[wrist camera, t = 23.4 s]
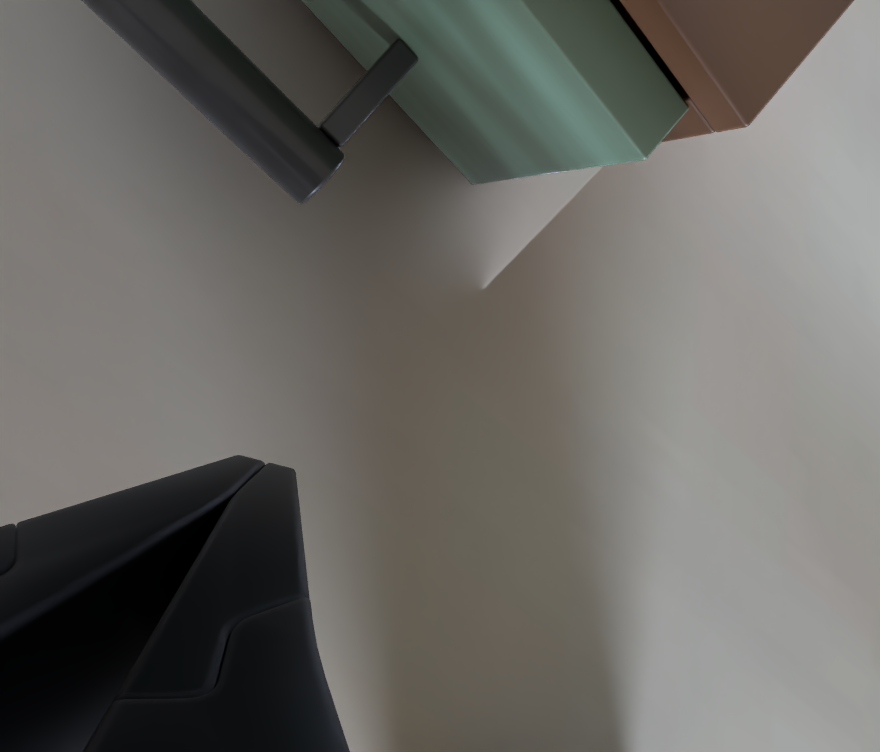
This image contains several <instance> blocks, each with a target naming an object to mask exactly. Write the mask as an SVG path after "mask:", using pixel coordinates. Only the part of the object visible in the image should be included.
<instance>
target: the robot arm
mask: <svg viewBox="0 0 880 752" xmlns="http://www.w3.org/2000/svg"><path fill="white" fill-rule="evenodd" d="M0 752H350V751H349V748H348V745H347V742H346V739H345V736H344V733H343V730H342V727H341V724H340V721H339V718H338V714H337V711H336V708H335V705H334V702H333V699H332V696H331V693H330V690H329V687H328V684H327V681H326V678H325V674H324V670H323V667H322V663H321V659H320V656H319V652H318V648H317V643H316V637H315V631H314V625H313V620H312V611H311V602H310V600H309V590H308V581H307V571H306V562H305V553H304V544H303V534H302V525H301V516H300V507H299V498H298V488H297V479H296V472H295V470H294V469H292V468H289V467H285V466H281V465H277V464H273V463H268V464H266V465H265V463H264V462H263V461H261V460H257V459H253V458H249V457H245V456H241V455H237V456H233V457H229V458H226V459H223V460H220V461H217V462H213V463H210V464H207V465H204V466H200V467H197V468H194V469H191V470H187V471H184V472H181V473H178V474H174V475H171V476H168V477H165V478H161V479H158V480H155V481H152V482H148V483H145V484H142V485H139V486H135V487H132V488H129V489H126V490H122V491H119V492H116V493H113V494H109V495H106V496H103V497H100V498H96V499H93V500H90V501H87V502H83V503H80V504H77V505H74V506H70V507H67V508H64V509H61V510H57V511H54V512H51V513H48V514H44V515H41V516H38V517H35V518H31V519H28V520H25V521H22V522H19V523H18V524H17V525H16V526H15V525H14V524H8V525H5V526H2V527H0Z"/></svg>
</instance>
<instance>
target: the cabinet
mask: <svg viewBox="0 0 880 752" xmlns="http://www.w3.org/2000/svg"><path fill="white" fill-rule="evenodd" d="M853 1H854V0H620V2H621V3H622V4H623V6H624V7H625V9H626V10H627V11H628V13H629V14H630V15H631V17H632V18H633V20H634V21H635V22H636V24H637V25H638V27H639V28H640V29H641V31H642V32H643V33H644V35H645V36H646V38H647V39H648V40H649V42H650V43H649V44H647V45H644V47H645V49H646V50H647V51H648V53H649V54H650V55H651V57H652V58H653V59H654V61H655V62H656V64H657V65H658V66H659V68H660V69H661V70H662V72H663V73H664V74H665V76H666V77H667V79H668V80H669V81H670V83H671V84H672V85H673V87H674V88H675V89H676V91H677V92H678V94H679V95H680V96H681V98H682V99H683V100H684V102H685V103H686V105H687V106H688V108H689V109H688V111H687V112H686V113H685V114H684V115H683V116H682V118H681V119H680V120H679V121H678V122H677V124H676V125H675V126H674V127H673V128H672V129H671V131H670V132H669V133H668V134H667V135H666V136H665V138H664V139H663V140H662V141H661V142H665V141H670V140H676V139H682V138H687V137H693V136H699V135H704V134H710V133H713V132H715V131H716V132H721V131H726V130H732V129H738V128H743V127H747V126H749V125H750V124H751V123H752V121H753V120H754V119H755V118H756V117H757V115H758V114H759V113H760V112H761V111H762V109H763V108H764V107H765V106H766V105H767V103H768V102H769V101H770V100H771V99H772V98H773V96H774V95H775V94H776V93H777V92H778V90H779V89H780V88H781V87H782V86H783V84H784V83H785V82H786V81H787V80H788V78H789V77H790V76H791V75H792V74H793V72H794V71H795V70H796V69H797V68H798V67H799V65H800V64H801V63H802V62H803V61H804V59H805V58H806V57H807V56H808V55H809V53H810V52H811V51H812V50H813V49H814V47H815V46H816V45H817V44H818V43H819V42H820V40H821V39H822V38H823V37H824V36H825V34H826V33H827V32H828V31H829V30H830V28H831V27H832V26H833V25H834V24H835V22H836V21H837V20H838V19H839V18H840V17H841V15H842V14H843V13H844V12H845V11H846V9H847V8H848V7H849V6H850V5H851V3H852V2H853Z"/></svg>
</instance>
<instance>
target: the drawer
mask: <svg viewBox="0 0 880 752" xmlns="http://www.w3.org/2000/svg"><path fill="white" fill-rule="evenodd" d="M82 1H83V2H84V3H85V4H86V5H87V6H88V7H89V8H90V9H91V10H92V11H93V12H95V13H96V14H97V15H98V16H99V17H100V18H101V19H102V20H103V21H104V22H105V23H106V24H107V25H108V26H110V27H111V28H112V29H113V30H114V31H115V32H116V33H117V34H118V35H119V36H120V37H121V38H122V39H123V40H124V41H126V42H127V43H128V44H129V45H130V46H131V47H132V48H133V49H134V50H135V51H136V52H137V53H138V54H139V55H141V56H142V57H143V58H144V59H145V60H146V61H147V62H148V63H149V64H150V65H151V66H152V67H153V68H154V69H155V70H157V71H158V72H159V73H160V74H161V75H162V76H163V77H164V78H165V79H166V80H167V81H168V82H169V83H170V84H172V85H173V86H174V87H175V88H176V89H177V90H178V91H179V92H180V93H181V94H182V95H183V96H184V97H185V98H186V99H188V100H189V101H190V102H191V103H192V104H193V105H194V106H195V107H196V108H197V109H198V110H199V111H200V112H201V113H202V114H204V115H205V116H206V117H207V118H208V119H209V120H210V121H211V122H212V123H213V124H214V125H215V126H216V127H217V128H219V129H220V130H221V131H222V132H223V133H224V134H225V135H226V136H227V137H228V138H229V139H230V140H231V141H232V142H233V143H235V144H236V145H237V146H238V147H239V148H240V149H241V150H242V151H243V152H244V153H245V154H246V155H247V156H248V157H250V158H251V159H252V160H253V161H254V162H255V163H256V164H257V165H258V166H259V167H260V168H261V169H262V170H263V171H264V172H266V173H267V174H268V175H269V176H270V177H271V178H272V179H273V180H274V181H275V182H276V183H277V184H278V185H279V186H281V187H282V188H283V189H284V190H285V191H286V192H287V193H288V194H289V195H290V196H291V197H292V198H293V199H294V200H295V201H297V202H298V203H300V204H302V203H304V202H306V201H308V200H309V199H310V198H311V197H312V196H313V195H314V194H315V193H316V192H317V191H318V190H319V189H320V188H321V187H322V186H323V185H324V184H325V183H326V182H327V181H328V180H329V179H330V177H331V176H332V175H333V174H334V173H335V172H336V170H337V169H338V168H339V167H340V165H341V164H342V162H343V160H344V158H345V156H344V153H343V152H342V151H341V150H340V149H339V147H341V146H343V145H344V144H345V143H346V142H347V140H348V139H349V138H350V137H351V136H352V135H353V134H354V133H355V132H356V130H357V129H358V128H359V127H360V126H361V125H362V124H363V123H364V121H365V120H366V119H367V118H368V117H369V116H370V115H371V114H372V112H373V111H374V110H375V109H376V108H377V107H378V106H379V105H380V104H381V102H382V101H383V100H384V99H385V98H386V97H387V96H388V95H390V96H391V97H392V99H393V100H394V101H395V102H396V103H397V104H398V105H399V106H400V107H401V108H402V109H403V110H404V111H405V113H406V114H407V115H408V116H409V117H410V118H411V119H412V120H413V121H414V122H415V123H416V124H417V125H418V127H419V128H420V129H421V130H422V131H423V132H424V133H425V134H426V135H427V136H428V137H429V138H430V139H431V141H432V142H433V143H434V144H435V145H436V146H437V147H438V148H439V149H440V150H441V151H442V152H443V153H444V155H445V156H446V157H447V158H448V159H449V160H450V161H451V162H452V163H453V164H454V165H455V166H456V167H457V168H458V170H459V171H460V172H461V173H462V174H463V175H464V176H465V177H466V178H467V179H468V180H469V181H470V182H471V184H473V185H474V184H481V183H488V182H494V181H501V180H508V179H515V178H522V177H529V176H536V175H543V174H550V173H557V172H564V171H571V170H578V169H585V168H592V167H599V166H605V165H612V164H619V163H626V162H633V161H640V160H645V159H647V158H648V156H649V155H650V154H651V153H652V152H653V151H654V149H655V148H656V147H657V146H658V145H659V144H660V142H661V141H662V140H663V139H664V138H665V136H666V135H667V134H668V133H669V132H670V131H671V129H672V128H673V127H674V126H675V125H676V124H677V122H678V121H679V120H680V119H681V118H682V116H683V115H684V114H685V113H686V112H687V111H688V109H689V108H688V106H687V105H686V103H685V102H684V100H683V99H682V98H681V96H680V95H679V94H678V92H677V91H676V89H675V88H674V87H673V85H672V84H671V83H670V81H669V80H668V79H667V77H666V76H665V74H664V73H663V72H662V70H661V69H660V68H659V66H658V65H657V64H656V62H655V61H654V59H653V58H652V57H651V55H650V54H649V53H648V51H647V50H646V49H645V47H644V45H647V44H649V43H650V42H649V40H648V39H647V38H646V36H645V35H644V33H643V32H642V31H641V29H640V28H639V27H638V25H637V24H636V22H635V21H634V20H633V18H632V17H631V15H630V14H629V13H628V11H627V10H626V9H625V7H624V6H623V4H622V3H621V2H620V0H301V1H302V2H303V3H304V4H305V5H306V6H307V7H308V8H309V9H310V10H311V11H312V12H313V13H314V15H315V16H316V17H317V18H318V19H319V20H320V21H321V22H322V23H323V24H324V25H325V26H326V27H327V29H328V30H329V31H330V32H331V33H332V34H333V35H334V36H335V37H336V38H337V39H338V40H339V41H340V43H341V44H342V45H343V46H344V47H345V48H346V49H347V50H348V51H349V52H350V53H351V54H352V55H353V57H354V58H355V59H356V60H357V61H358V62H359V63H360V64H361V65H362V66H363V67H364V68H365V69H366V71H367V72H366V73H365V74H364V75H363V76H362V77H361V78H360V80H359V81H358V82H357V83H356V84H355V85H354V86H353V87H352V88H351V90H350V91H349V92H348V93H347V94H346V95H345V96H344V97H343V98H342V100H341V101H340V102H339V103H338V104H337V105H336V106H335V107H334V108H333V110H332V111H331V112H330V113H329V114H328V115H327V116H326V117H325V118H324V120H323V121H322V122H321V123H320V124H319V125H318V126H316V125H315V124H314V123H313V122H312V121H311V120H310V119H309V118H308V117H307V116H306V115H305V114H304V113H303V112H302V111H301V110H300V109H299V108H298V107H297V106H296V105H295V104H294V103H293V102H292V101H291V100H290V99H289V98H288V97H287V96H286V95H285V94H284V93H283V92H282V91H281V90H280V89H279V88H278V87H277V86H276V85H275V84H274V83H273V82H272V81H271V80H270V79H269V78H268V77H267V76H266V75H265V74H264V73H263V72H262V71H261V70H260V69H259V68H258V67H257V66H256V65H255V64H254V63H253V62H252V61H251V60H250V59H249V58H248V57H247V56H246V55H245V54H244V53H243V52H242V51H241V50H240V49H239V48H238V47H237V46H236V45H235V44H234V43H233V42H232V41H231V40H230V39H229V38H228V37H227V36H226V35H225V34H224V33H223V32H222V31H221V30H220V29H219V28H218V27H217V26H216V25H215V24H214V23H213V22H212V21H211V20H210V19H209V18H208V17H207V16H206V15H205V14H204V13H203V12H202V11H201V10H200V9H199V8H198V7H197V6H196V5H195V4H194V3H193V2H192V1H191V0H82Z"/></svg>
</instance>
